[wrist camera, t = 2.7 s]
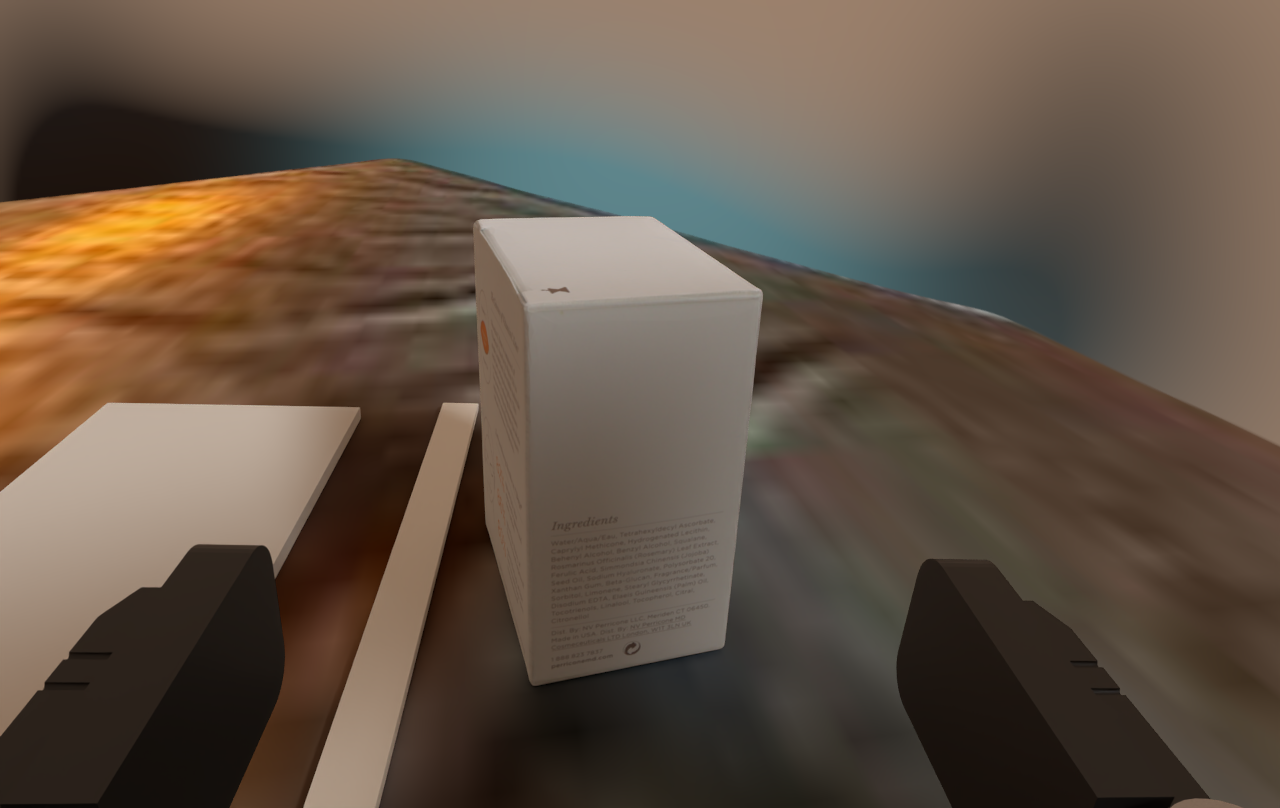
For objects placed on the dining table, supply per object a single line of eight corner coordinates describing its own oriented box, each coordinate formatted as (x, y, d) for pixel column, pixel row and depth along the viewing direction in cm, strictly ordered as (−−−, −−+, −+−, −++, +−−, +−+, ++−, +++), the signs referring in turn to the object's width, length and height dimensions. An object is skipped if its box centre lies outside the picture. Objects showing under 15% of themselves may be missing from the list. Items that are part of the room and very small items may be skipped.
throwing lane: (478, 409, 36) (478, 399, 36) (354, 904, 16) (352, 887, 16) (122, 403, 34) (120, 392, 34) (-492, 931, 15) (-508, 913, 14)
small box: (726, 656, 23) (773, 291, 18) (526, 694, 21) (523, 303, 17) (638, 504, 30) (657, 211, 25) (482, 524, 28) (471, 214, 23)
